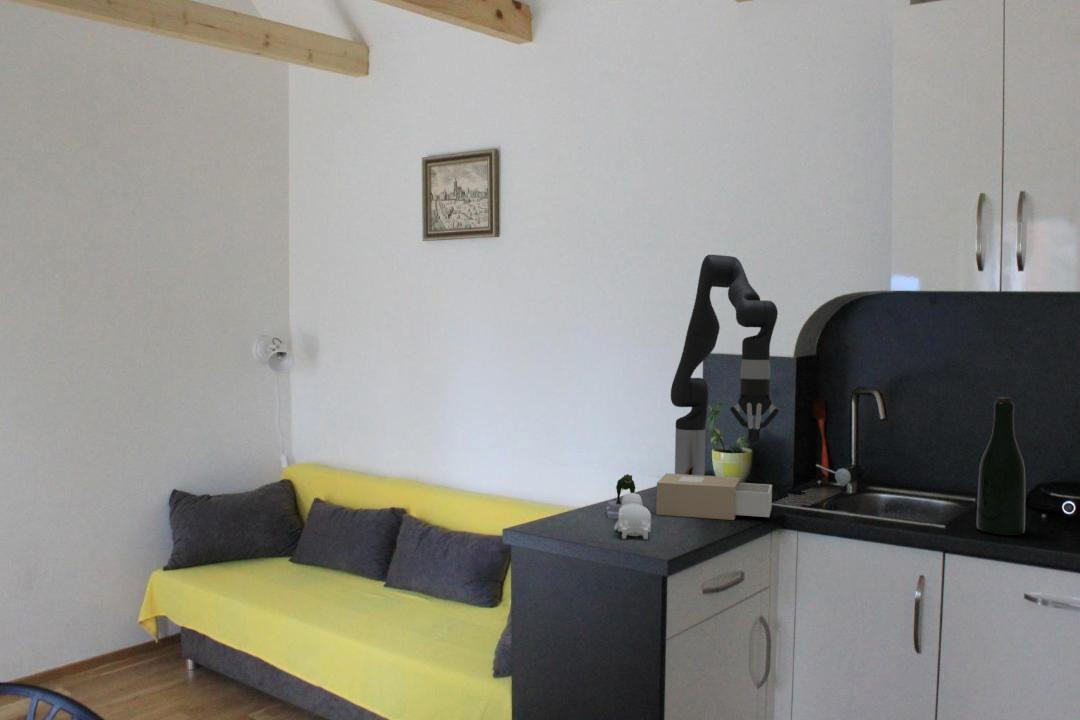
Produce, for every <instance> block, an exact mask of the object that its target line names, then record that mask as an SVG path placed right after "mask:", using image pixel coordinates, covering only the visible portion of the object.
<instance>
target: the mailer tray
mask: <svg viewBox="0 0 1080 720" xmlns="http://www.w3.org/2000/svg"><path fill="white" fill-rule="evenodd" d="M772 498H773V484H769V483H767V484H765V483H753V482H751V483H749V482H740V483H738V485H737V487H736V489H735V515H736V516H746V517H747V516H749V517H760V518H761V517H762V518H763V517H764V518H770V516H771V512H772V504H773V499H772Z"/></svg>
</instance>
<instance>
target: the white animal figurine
mask: <svg viewBox="0 0 1080 720" xmlns="http://www.w3.org/2000/svg"><path fill="white" fill-rule="evenodd" d="M621 500H622V507H621V508H619V513H618V515H619V519H617V521H616V522H615V524H614V527H613V530H614V531H613V532H615V531H617V532H621V538H622V540H626V539H627V536H630V537H639V536H641V537H642V538H643V540H648V538H649V534H648V533H651V530H652V528H651V527H652V514H651V512H650V510H649V509H648V508H647V507H645V506H644V505H643V504H644V503H643V499H642V497H641V495H640V494H638V493H636V492H634V493H630V492H628V493H624V494H623V495H622V498H621ZM642 503H643V504H642Z"/></svg>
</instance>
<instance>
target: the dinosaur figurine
mask: <svg viewBox="0 0 1080 720" xmlns="http://www.w3.org/2000/svg"><path fill="white" fill-rule="evenodd" d="M615 489H616V494H617V495H616V496H617V499H614V500H613V499H612V500H609V501H607V504H608V505H609V506H606V507H605V508H606V516H607V517H608V519H609V520H619V515H618V513H619V508H621V507H622V499H620V496H621V493H622V491H626V490H629V493H636V485H635V482H634V480H633V475H632V474H631V475H630V474H626V475H625V474H624V475H623V476H622V477H621V478H619V479H618V480H617V482H616V486H615ZM642 504H644V503H643V502H642Z"/></svg>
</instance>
